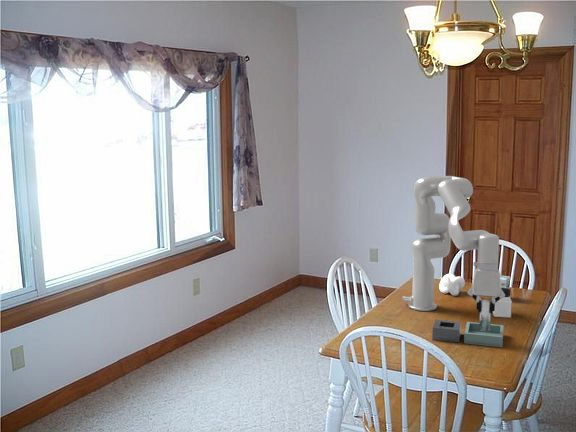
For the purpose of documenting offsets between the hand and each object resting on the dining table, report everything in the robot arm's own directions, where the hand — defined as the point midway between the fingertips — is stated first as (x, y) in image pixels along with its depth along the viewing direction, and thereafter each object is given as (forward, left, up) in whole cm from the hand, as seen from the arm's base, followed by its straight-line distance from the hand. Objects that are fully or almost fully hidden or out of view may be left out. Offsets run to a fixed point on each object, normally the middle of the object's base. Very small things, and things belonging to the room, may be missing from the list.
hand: (485, 311), depth 254 cm
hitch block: (-14, -2, -11) cm, 18 cm away
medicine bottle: (+6, +33, -11) cm, 35 cm away
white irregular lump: (-17, +59, -11) cm, 63 cm away
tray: (0, 0, -11) cm, 11 cm away
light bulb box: (+3, +57, -11) cm, 58 cm away
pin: (0, 0, -7) cm, 7 cm away
